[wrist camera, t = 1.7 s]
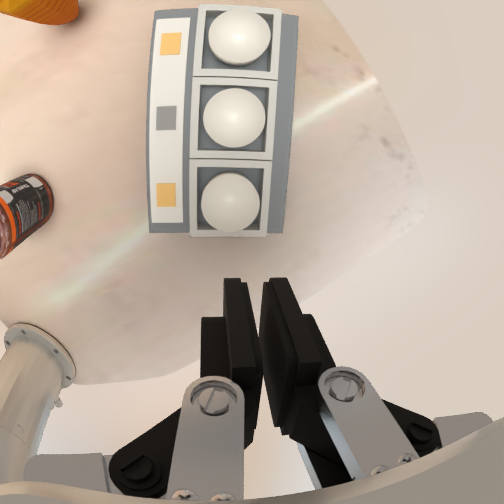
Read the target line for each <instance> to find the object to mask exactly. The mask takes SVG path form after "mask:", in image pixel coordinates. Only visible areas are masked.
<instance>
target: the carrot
mask: <svg viewBox="0 0 504 504" xmlns="http://www.w3.org/2000/svg"><path fill="white" fill-rule="evenodd" d="M0 12H1V13H3V14H7V15H10V16H13V17H17V18H20V19H24V20H28V21H32V22H36V23H40V24H48V25H60V24H65V23H68V22H70V21H73V20H75V19H76V18H77V16H78V14H79V7H78V0H0Z"/></svg>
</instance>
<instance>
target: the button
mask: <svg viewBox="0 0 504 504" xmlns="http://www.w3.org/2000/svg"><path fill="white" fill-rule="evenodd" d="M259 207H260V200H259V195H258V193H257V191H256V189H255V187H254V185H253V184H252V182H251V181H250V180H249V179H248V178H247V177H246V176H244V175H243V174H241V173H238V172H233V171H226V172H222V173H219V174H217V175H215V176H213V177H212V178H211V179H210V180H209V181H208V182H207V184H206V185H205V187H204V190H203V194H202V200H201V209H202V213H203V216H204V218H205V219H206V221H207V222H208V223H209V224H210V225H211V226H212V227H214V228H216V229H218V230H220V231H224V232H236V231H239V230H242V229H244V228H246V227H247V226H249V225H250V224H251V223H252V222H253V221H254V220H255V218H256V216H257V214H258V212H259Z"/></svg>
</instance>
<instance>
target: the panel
mask: <svg viewBox="0 0 504 504" xmlns="http://www.w3.org/2000/svg"><path fill="white" fill-rule="evenodd" d="M234 9H244V10H249V11H252V12H254V13H257V14H258V15H260V16H261V17H262V18H263V19H264V20H265V21H266V23H267V24H268V26H269V29H270V33H271V37H270V42H269V45H268V47H267V48H266V50H265V51H264V52H263V54H262V55H261V56H260V57H259V58H258V59H257V60H255V61H254V62H252V63H250V64H247V65H242V66H233V65H228V64H225V63H223V62H221V61H220V60H218V59H217V58H216V57H215V56H214V55H213V53H212V52H211V50H210V47H209V37H208V34H209V28H210V26H211V24H212V22H213V21H214V20H215V19H216V18H217V17H218V16H219V15H221V14H222V13H224V12H226V11H229V10H234ZM298 18H299V16H295V15H289V14H282V9H274V8H266V7H256V6H243V5H222V4H199V8H194V9H171V10H158V11H155V14H154V21H153V30H152V39H151V49H150V61H149V74H148V92H147V121H146V167H147V197H148V216H149V230H150V233H190V237H266V236H267V233H283V224H284V214H285V203H286V193H287V181H288V170H289V158H290V146H291V133H292V120H293V106H294V91H295V76H296V58H297V39H298ZM230 88H239V89H244V90H247V91H249V92H251V93H252V94H254V95H255V96H256V97H257V98H258V99H259V100H260V101H261V103H262V105H263V107H264V110H265V125H264V128H263V130H262V132H261V134H260V135H259V136H258V137H257V138H256V139H255V140H254V141H253V142H251V143H250V144H248V145H245V146H242V147H235V148H232V147H226V146H223V145H220V144H218V143H217V142H215V141H214V140H213V139H212V138H211V137H210V136H209V135H208V133H207V132H206V130H205V127H204V123H203V114H204V109H205V107H206V105H207V103H208V102H209V100H210V99H211V98H212V97H213V96H214V95H215V94H217V93H218V92H220V91H223V90H226V89H230ZM226 171H233V172H238V173H241V174H243V175H244V176H246V177H247V178H248V179H249V180H250V181H251V182H252V184H253V185H254V187H255V189H256V191H257V193H258V195H259V200H260V207H259V212H258V214H257V216H256V218H255V220H254V221H253V222H252V223H251V224H250V225H249V226H247V227H246V228H244V229H242V230H239V231H236V232H224V231H220V230H218V229H216V228H214V227H212V226H211V225H210V224H209V223H208V222H207V221H206V219H205V218H204V216H203V213H202V209H201V200H202V194H203V190H204V187H205V185H206V184H207V182H208V181H209V180H210V179H211V178H212V177H213V176H215V175H217V174H219V173H222V172H226Z"/></svg>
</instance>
